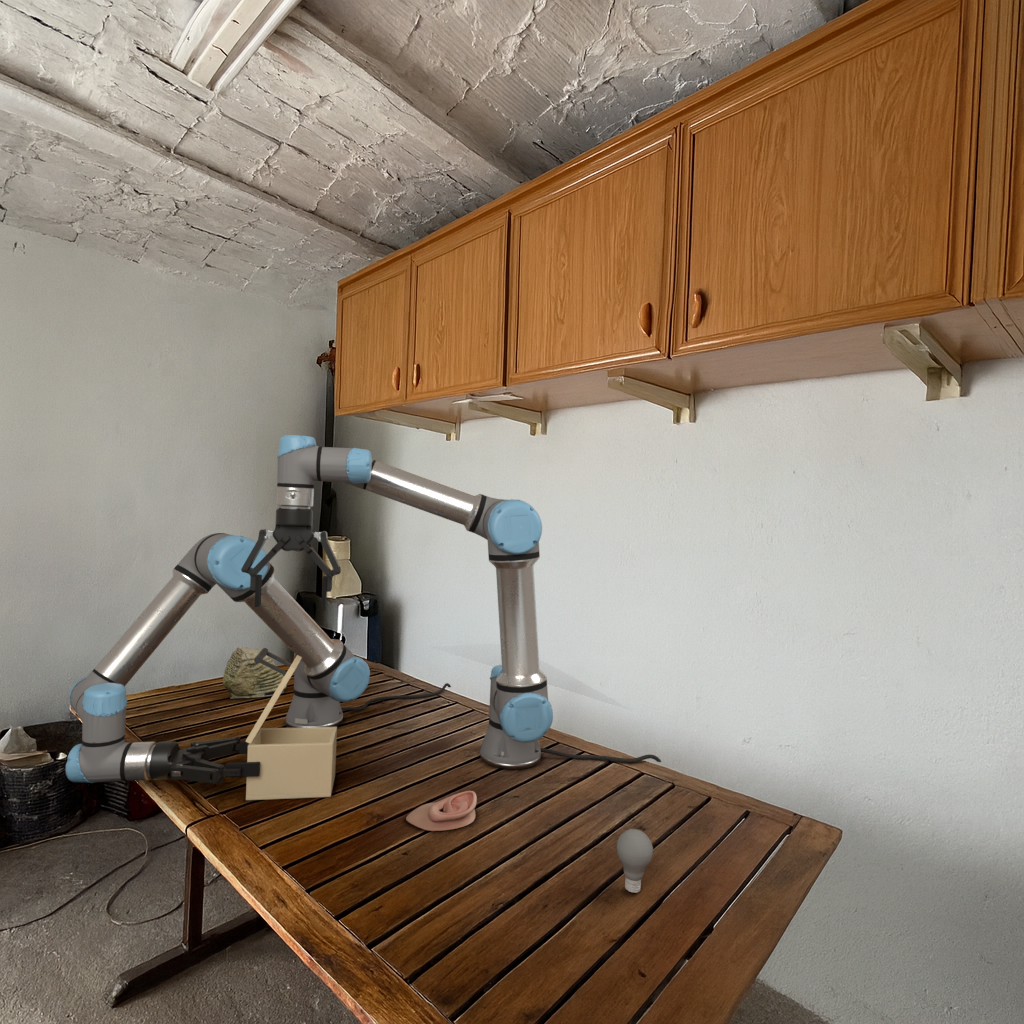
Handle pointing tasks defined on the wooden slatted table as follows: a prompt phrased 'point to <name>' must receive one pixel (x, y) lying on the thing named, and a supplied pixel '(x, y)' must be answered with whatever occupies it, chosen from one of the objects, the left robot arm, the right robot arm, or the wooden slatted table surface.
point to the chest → (292, 763)
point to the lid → (278, 691)
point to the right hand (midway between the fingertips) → (291, 606)
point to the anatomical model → (445, 813)
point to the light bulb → (634, 857)
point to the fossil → (250, 675)
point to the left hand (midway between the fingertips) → (265, 757)
